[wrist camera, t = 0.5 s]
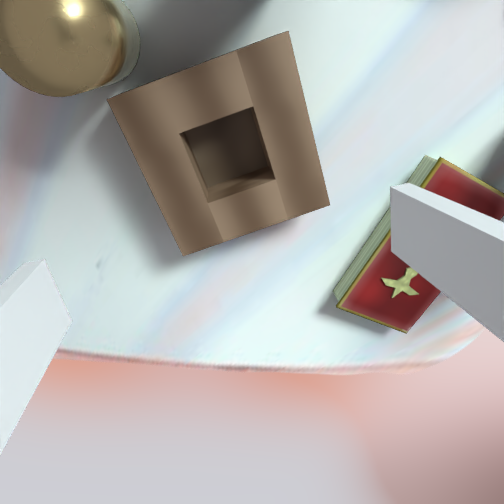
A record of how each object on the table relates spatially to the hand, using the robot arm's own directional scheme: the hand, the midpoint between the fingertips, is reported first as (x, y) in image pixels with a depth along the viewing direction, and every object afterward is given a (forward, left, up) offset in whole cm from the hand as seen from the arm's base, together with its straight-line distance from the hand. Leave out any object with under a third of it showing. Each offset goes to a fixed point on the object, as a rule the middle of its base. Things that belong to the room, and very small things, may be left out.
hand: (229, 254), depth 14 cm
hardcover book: (-19, +22, -29) cm, 41 cm away
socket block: (-1, +2, -28) cm, 28 cm away
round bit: (+7, -11, -28) cm, 31 cm away
